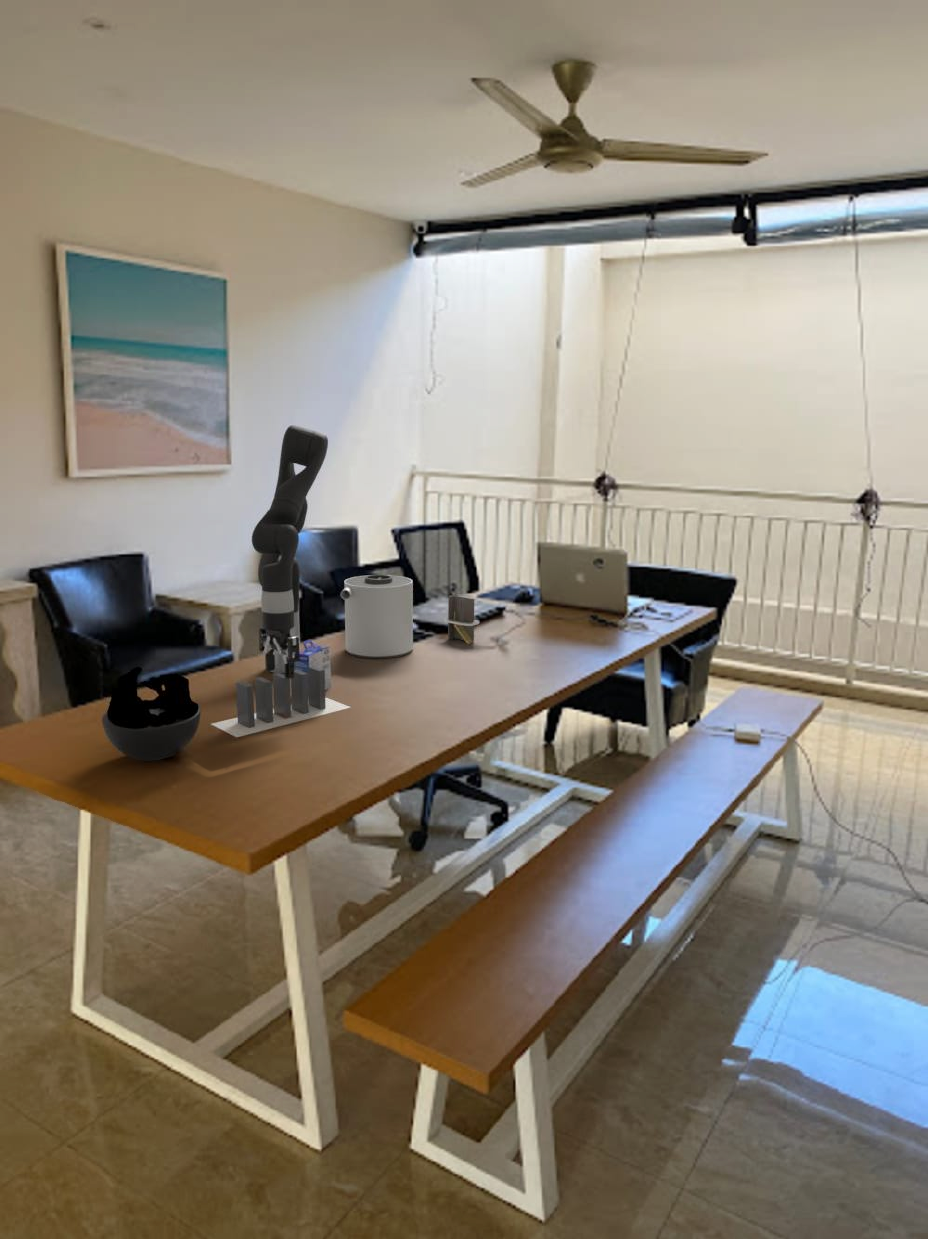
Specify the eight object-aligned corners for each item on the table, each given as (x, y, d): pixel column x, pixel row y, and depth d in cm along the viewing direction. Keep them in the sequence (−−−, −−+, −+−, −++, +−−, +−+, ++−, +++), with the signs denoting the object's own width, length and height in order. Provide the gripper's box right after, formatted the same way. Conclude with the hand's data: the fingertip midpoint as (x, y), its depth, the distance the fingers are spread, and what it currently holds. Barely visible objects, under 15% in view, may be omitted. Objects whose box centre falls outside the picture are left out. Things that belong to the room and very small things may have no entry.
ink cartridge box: (315, 687, 246) (313, 635, 243) (332, 690, 244) (331, 638, 241) (293, 697, 238) (291, 644, 235) (311, 700, 235) (309, 646, 232)
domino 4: (303, 714, 222) (301, 674, 220) (291, 709, 225) (290, 670, 223) (308, 712, 223) (307, 673, 221) (297, 707, 227) (296, 669, 224)
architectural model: (470, 654, 283) (471, 608, 280) (412, 640, 299) (411, 597, 296) (508, 642, 298) (509, 598, 295) (451, 630, 314) (451, 588, 310)
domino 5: (320, 709, 225) (319, 670, 223) (308, 705, 229) (307, 666, 227) (325, 708, 226) (324, 669, 224) (314, 703, 230) (313, 665, 228)
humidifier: (407, 660, 274) (407, 584, 269) (338, 658, 276) (337, 582, 270) (417, 643, 295) (416, 572, 290) (353, 641, 296) (352, 570, 291)
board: (210, 728, 215) (210, 723, 214) (323, 700, 236) (323, 695, 236) (236, 741, 206) (236, 736, 206) (350, 711, 228) (350, 706, 227)
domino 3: (285, 718, 219) (284, 678, 216) (274, 713, 222) (272, 673, 220) (291, 716, 220) (289, 677, 217) (279, 711, 223) (278, 672, 221)
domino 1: (248, 728, 212) (246, 687, 210) (237, 722, 215) (235, 682, 213) (254, 726, 213) (253, 685, 211) (243, 721, 216) (241, 680, 214)
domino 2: (267, 723, 215) (265, 682, 213) (256, 718, 219) (254, 678, 216) (273, 721, 216) (271, 681, 214) (262, 716, 220) (260, 676, 218)
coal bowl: (203, 770, 190) (198, 683, 185) (101, 780, 184) (93, 691, 180) (202, 737, 208) (197, 658, 204) (109, 745, 203) (102, 664, 198)
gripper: (308, 611, 212) (309, 677, 216) (275, 601, 222) (277, 664, 226) (280, 616, 207) (282, 684, 211) (248, 605, 217) (250, 670, 221)
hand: (279, 674), depth 219 cm, fingers open, 8 cm apart
